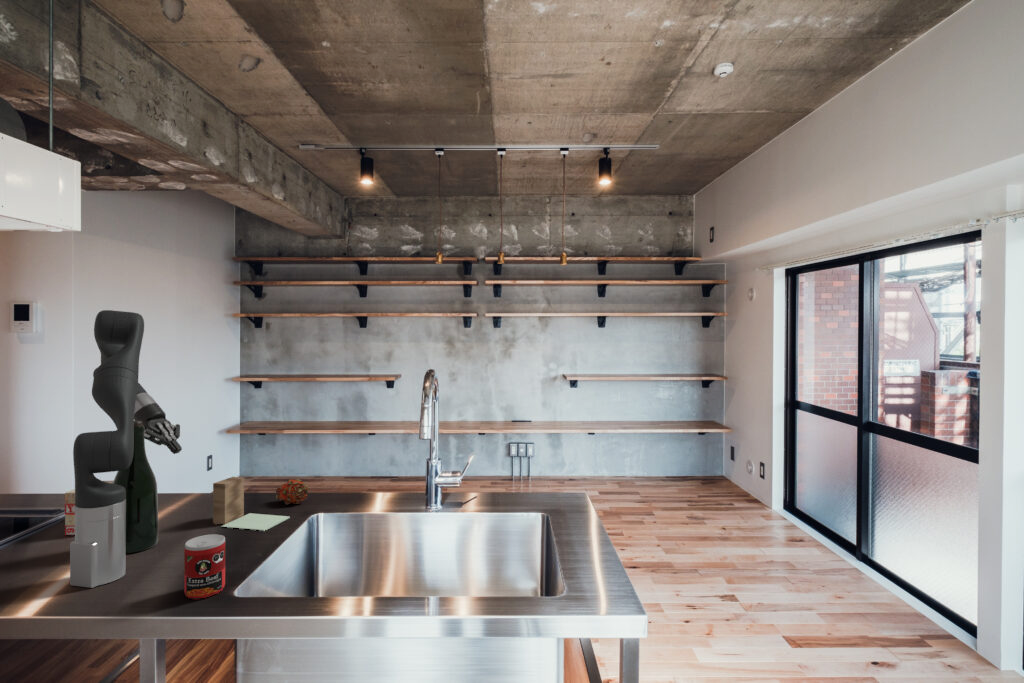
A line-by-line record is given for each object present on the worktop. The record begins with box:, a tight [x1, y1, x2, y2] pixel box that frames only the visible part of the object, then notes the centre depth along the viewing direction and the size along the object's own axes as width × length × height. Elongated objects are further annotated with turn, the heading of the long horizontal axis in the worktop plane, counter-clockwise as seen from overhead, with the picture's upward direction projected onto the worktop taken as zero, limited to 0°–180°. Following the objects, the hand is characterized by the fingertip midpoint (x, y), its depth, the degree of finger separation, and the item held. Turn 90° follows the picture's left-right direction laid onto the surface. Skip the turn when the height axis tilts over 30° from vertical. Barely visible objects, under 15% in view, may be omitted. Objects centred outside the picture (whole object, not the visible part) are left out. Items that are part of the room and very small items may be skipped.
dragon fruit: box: [275, 478, 311, 505], centre depth 182 cm, size 8×8×12 cm
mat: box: [220, 512, 291, 532], centre depth 162 cm, size 12×14×1 cm
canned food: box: [183, 533, 226, 600], centre depth 118 cm, size 8×8×11 cm
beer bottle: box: [112, 420, 159, 554], centre depth 142 cm, size 10×10×33 cm
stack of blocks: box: [64, 480, 114, 536], centre depth 161 cm, size 21×6×12 cm, turn 3°
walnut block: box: [212, 476, 245, 526], centre depth 164 cm, size 8×4×12 cm, turn 168°
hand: (178, 451), depth 168 cm, fingers closed
